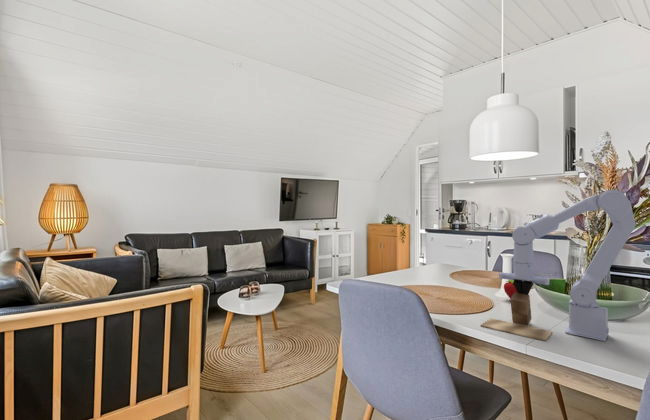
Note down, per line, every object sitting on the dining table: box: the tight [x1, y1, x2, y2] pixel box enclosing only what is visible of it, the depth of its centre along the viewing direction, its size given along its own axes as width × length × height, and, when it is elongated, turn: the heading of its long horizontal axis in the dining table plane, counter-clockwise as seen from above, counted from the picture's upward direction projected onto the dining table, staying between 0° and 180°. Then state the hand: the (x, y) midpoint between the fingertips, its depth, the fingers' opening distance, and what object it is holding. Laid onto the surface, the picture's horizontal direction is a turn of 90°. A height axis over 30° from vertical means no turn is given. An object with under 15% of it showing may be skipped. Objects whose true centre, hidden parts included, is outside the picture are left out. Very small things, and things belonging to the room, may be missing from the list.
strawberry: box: [503, 279, 517, 299], centre depth 139 cm, size 6×8×10 cm
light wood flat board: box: [480, 317, 553, 342], centre depth 107 cm, size 18×9×1 cm, turn 46°
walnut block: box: [509, 293, 533, 327], centre depth 112 cm, size 4×4×9 cm
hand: (523, 303), depth 114 cm, fingers closed
